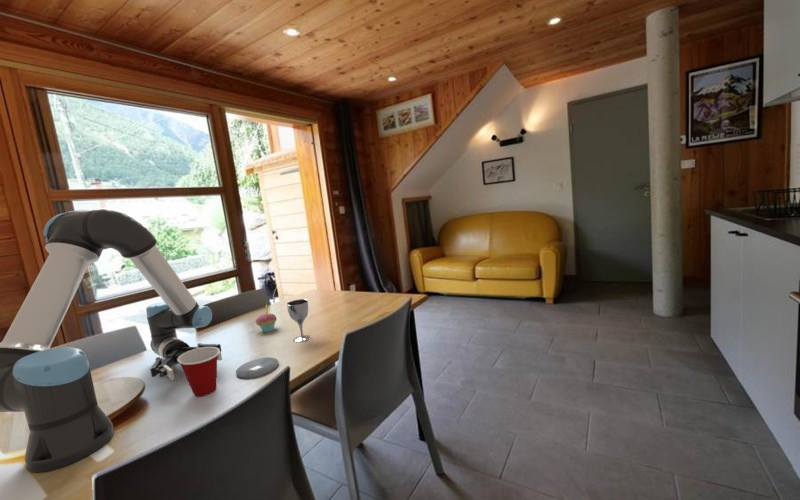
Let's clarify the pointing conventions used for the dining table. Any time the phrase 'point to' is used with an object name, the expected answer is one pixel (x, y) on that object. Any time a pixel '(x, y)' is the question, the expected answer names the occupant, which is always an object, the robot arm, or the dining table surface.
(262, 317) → the cupcake
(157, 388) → the dining table surface
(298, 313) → the wine glass
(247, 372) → the coaster
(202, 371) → the plastic cup
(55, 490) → the dining table surface
